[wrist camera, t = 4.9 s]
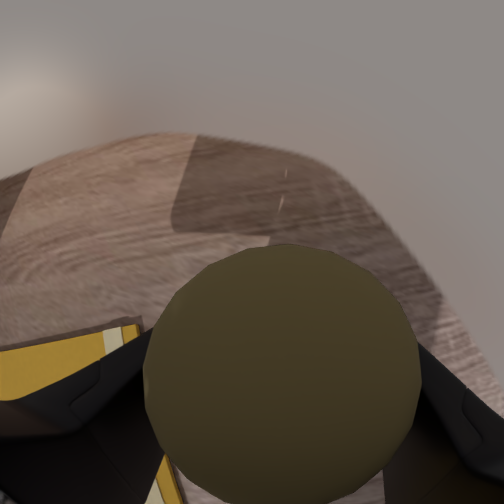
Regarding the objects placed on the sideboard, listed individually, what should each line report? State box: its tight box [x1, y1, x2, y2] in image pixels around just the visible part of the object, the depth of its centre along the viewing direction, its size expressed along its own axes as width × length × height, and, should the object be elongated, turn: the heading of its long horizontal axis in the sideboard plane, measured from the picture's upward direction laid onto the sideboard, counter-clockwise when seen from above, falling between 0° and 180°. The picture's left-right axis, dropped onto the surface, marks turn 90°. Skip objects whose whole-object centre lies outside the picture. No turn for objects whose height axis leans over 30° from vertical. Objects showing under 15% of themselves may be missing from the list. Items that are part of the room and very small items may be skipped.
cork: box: [143, 244, 422, 504], centre depth 9 cm, size 6×6×11 cm
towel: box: [0, 324, 183, 504], centre depth 12 cm, size 20×16×1 cm
